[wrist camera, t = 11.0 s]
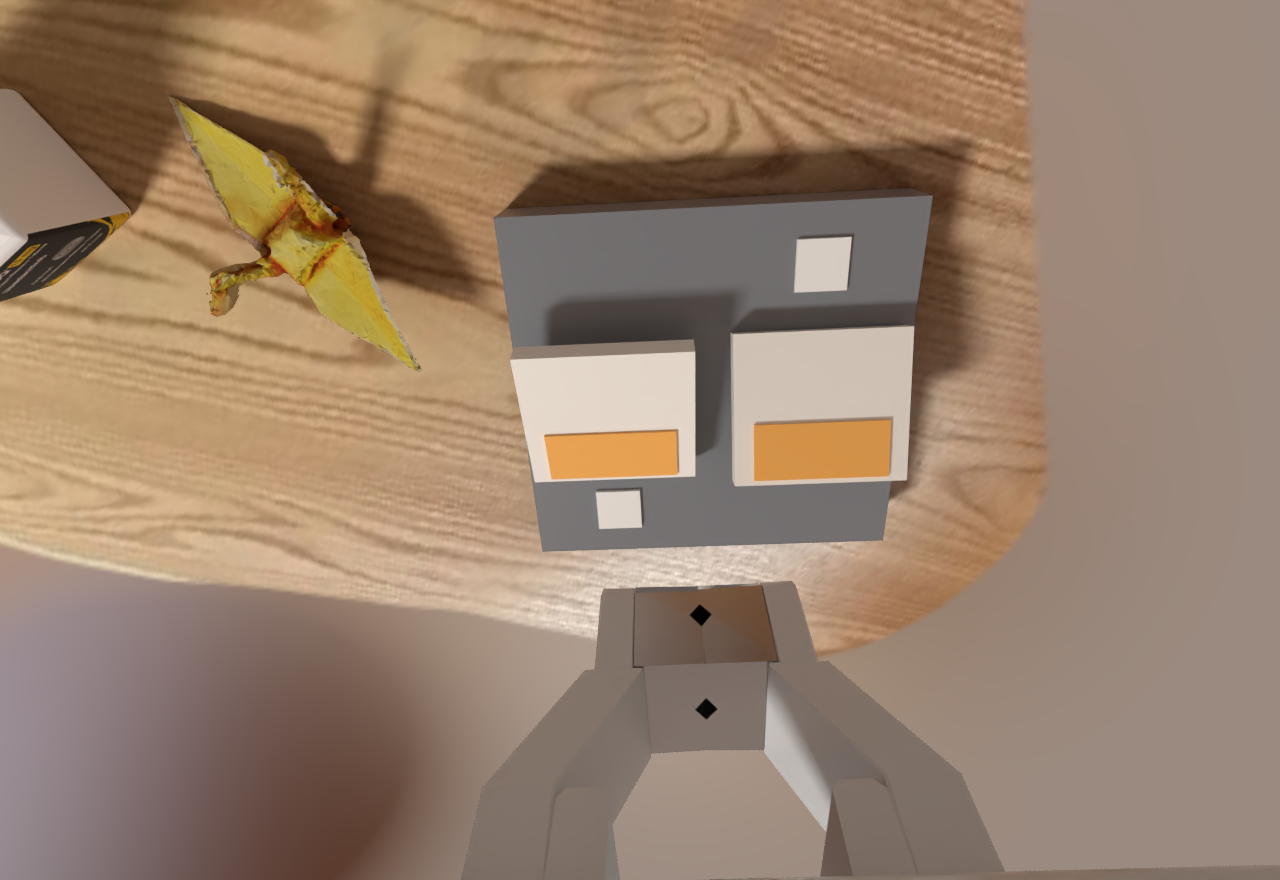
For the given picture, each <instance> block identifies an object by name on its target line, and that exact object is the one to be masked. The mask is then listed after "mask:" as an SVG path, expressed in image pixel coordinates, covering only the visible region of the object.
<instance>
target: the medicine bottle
mask: <svg viewBox="0 0 1280 880" xmlns="http://www.w3.org/2000/svg"><path fill="white" fill-rule="evenodd" d="M130 216H131V211H130V209H129V208H128V207H127V206H126V205H125V204H124V203H123V202H122V201H121V199H120V198H119V197H118V196H117V195H116V194H115V193H114V192H113V191H112V190H111V189H110V188H109V187H108V186H107V185H106V184H105V183H104V182H103V181H102V180H101V179H100V178H99V176H98V175H97V174H96V173H95V172H94V171H93V170H92V169H91V168H90V167H89V166H88V165H87V164H86V163H85V162H84V161H83V160H82V159H81V158H80V157H79V156H78V155H77V154H76V152H75V151H74V150H73V149H72V148H71V147H70V146H69V145H68V144H67V143H66V142H65V141H64V140H63V139H62V138H61V137H60V136H59V135H58V134H57V133H56V132H55V131H54V130H53V128H52V127H51V126H50V125H49V124H48V123H47V122H46V121H45V120H44V119H43V118H42V117H41V116H40V115H39V114H38V113H37V112H36V111H35V110H34V109H33V108H32V107H31V105H30V104H29V103H28V102H27V101H26V100H25V99H24V98H23V97H22V96H21V95H20V94H19V93H18V92H16V91H14V90H11V89H0V302H1V301H4V300H7V299H10V298H13V297H17V296H20V295H23V294H26V293H29V292H33V291H36V290H39V289H42V288H45V287H49V286H52V285H54V284H56V283H57V282H58V281H60V280H61V279H62V278H63V277H64V276H65V275H66V274H67V273H68V272H70V271H71V270H72V269H73V268H74V267H75V266H76V265H77V264H78V263H80V262H81V261H82V260H83V259H84V258H85V257H86V256H87V255H88V254H90V253H91V252H92V251H93V250H94V249H95V248H96V247H97V246H98V245H100V244H101V243H102V242H103V241H104V240H105V239H106V238H107V237H108V236H110V235H111V234H112V233H113V232H114V231H115V230H116V229H117V228H118V227H120V226H121V225H122V224H123V223H124V222H125V221H126V220H127V219H128V218H130Z"/></svg>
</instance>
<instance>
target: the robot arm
mask: <svg viewBox="0 0 1280 880" xmlns="http://www.w3.org/2000/svg"><path fill="white" fill-rule="evenodd" d="M699 750H764V753H765V754H766V755H767V757H768V758H769V759H770V761H771V762H772V763H773V764H774V766H775V767H776V768H777V770H778V771H779V772H780V773H781V774H782V776H783V777H784V779H786V781H787V782H788V784H789V785H790V786H791V787H792V789H793V790H794V791H795V793H796V794H797V795H798V797H799V798H800V799H801V800H802V802H803V803H804V804H805V805H806V807H807V808H808V809H809V811H810V812H811V813H812V814H813V816H814V817H815V818H816V819H817V821H818V822H819V823H820V825H821V826H822V827H823V829H824V830H825V831H826V839H825V846H824V853H823V861H822V868H821V876H820V877H788V878H750V879H715V880H1280V865H1248V866H1246V865H1245V866H1208V867H1168V868H1131V869H1130V868H1129V869H1090V870H1051V871H1014V872H1013V871H1012V872H1005V870H1004V868H1003V866H1002V864H1001V862H1000V859H999V857H998V855H997V852H996V850H995V848H994V846H993V843H992V841H991V839H990V837H989V834H988V832H987V830H986V828H985V826H984V824H983V821H982V819H981V817H980V815H979V812H978V810H977V808H976V806H975V803H974V801H973V799H972V797H971V794H970V792H969V790H968V788H967V785H966V783H965V781H964V779H963V776H962V774H961V773H960V772H959V771H957V770H956V769H955V768H954V767H953V766H952V765H951V764H949V763H948V762H947V761H946V760H945V759H943V758H942V757H941V756H940V755H939V754H938V753H936V752H935V751H934V750H933V749H932V748H930V747H929V746H928V745H927V744H926V743H924V742H923V741H922V740H921V739H920V738H918V737H917V736H916V735H915V734H914V733H913V732H911V731H910V730H909V729H908V728H907V727H905V726H904V725H903V724H902V723H901V722H900V721H898V720H897V719H896V718H895V717H894V716H893V715H891V714H890V713H889V712H888V711H886V710H885V709H884V708H883V707H882V706H881V705H880V704H878V703H877V702H876V701H875V700H874V699H872V698H871V697H870V696H869V695H868V694H867V693H865V692H864V691H863V690H862V689H860V688H859V687H858V686H857V685H856V684H855V683H853V682H852V681H851V680H850V679H849V678H848V677H846V676H845V675H844V674H843V673H842V672H841V671H839V670H838V669H837V668H836V667H835V666H833V665H832V664H831V663H830V662H829V661H818V659H817V656H816V653H815V649H814V646H813V642H812V639H811V636H810V632H809V629H808V626H807V622H806V619H805V615H804V612H803V609H802V605H801V602H800V599H799V595H798V592H797V588H796V585H795V584H794V583H793V582H792V581H782V582H765V583H760V584H759V583H755V584H735V585H715V586H696V587H643V588H635V589H634V588H625V589H603V592H602V595H601V602H600V614H599V625H598V637H597V649H596V660H595V669H594V670H585V671H584V672H583V673H582V674H581V675H580V677H579V678H578V679H577V680H576V681H575V682H574V683H573V684H572V686H571V687H570V688H569V689H568V690H567V691H566V692H565V694H564V695H563V696H562V697H561V698H560V699H559V700H558V702H557V703H556V704H555V705H554V706H553V707H552V708H551V710H550V711H549V712H548V713H547V714H546V715H545V717H544V718H543V719H542V720H541V721H540V722H539V723H538V724H537V726H536V727H535V728H534V729H533V730H532V731H531V732H530V734H529V735H528V736H527V737H526V738H525V739H524V740H523V742H522V743H521V744H520V745H519V746H518V747H517V748H516V750H515V751H514V752H513V753H512V754H511V755H510V756H509V757H508V759H507V760H506V761H505V762H504V763H503V764H502V766H501V767H500V768H499V769H498V770H497V771H496V772H495V773H494V775H493V776H492V777H491V778H490V779H489V780H488V781H487V783H486V784H485V785H484V786H483V788H482V791H481V795H480V800H479V804H478V808H477V812H476V817H475V821H474V826H473V830H472V834H471V838H470V843H469V847H468V851H467V855H466V860H465V864H464V868H463V873H462V877H461V880H620V876H619V869H618V862H617V854H616V848H615V840H614V833H613V825H612V824H613V822H614V821H615V819H616V817H617V816H618V814H619V812H620V810H621V809H622V807H623V805H624V803H625V802H626V800H627V798H628V796H629V795H630V792H631V791H632V789H633V788H634V786H635V784H636V782H637V781H638V779H639V777H640V775H641V774H642V772H643V770H644V769H645V767H646V765H647V763H648V762H649V760H650V758H651V753H667V752H682V751H699ZM711 880H713V879H711Z"/></svg>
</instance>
